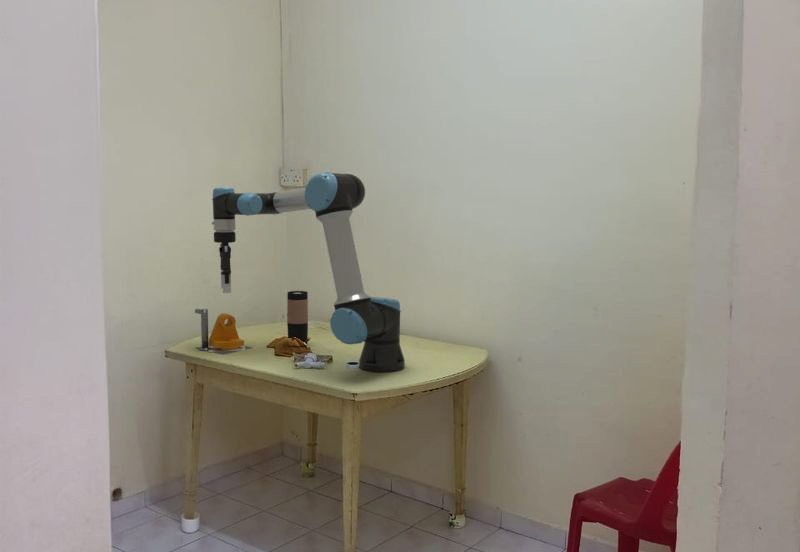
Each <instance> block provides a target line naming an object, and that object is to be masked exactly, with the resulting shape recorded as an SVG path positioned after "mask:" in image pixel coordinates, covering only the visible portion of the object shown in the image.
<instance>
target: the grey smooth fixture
mask: <svg viewBox="0 0 800 552" xmlns="http://www.w3.org/2000/svg"><path fill="white" fill-rule="evenodd" d="M194 313H195V314H198V315H200V325H201V327H200V328H201V346H199V347H200V348H199V349H198V351H201V352H208V350H211V349H212V348H211V347H209V308H202V309H201V308H195V309H194Z"/></svg>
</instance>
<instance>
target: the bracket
mask: <svg viewBox="0 0 800 552" xmlns="http://www.w3.org/2000/svg"><path fill="white" fill-rule="evenodd" d="M235 318H236V317H234V316H233V315H231V314H228V313H224V312H223V313H220V314H219V315H218V316H217V318H216V320H215V323H214V325H213V328H212V331H211V332H210V336H209V337H208V340H209V345H211V346H213V347H215V348H220V349H222V350H229V349H238V347H239V346H245V340H244V339H241V338H240V337H239V333H238V330H237V328H236V319H235ZM226 320H227V321H226ZM225 322H226V323H225Z"/></svg>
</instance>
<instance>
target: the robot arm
mask: <svg viewBox="0 0 800 552" xmlns="http://www.w3.org/2000/svg"><path fill="white" fill-rule="evenodd" d="M365 195H366V187H365V185H364V183H363V181H362V180H361V179H360V178H359V177H358V176H356V175H354V174H351V173H337V172H336V173H335V172H323V173H316V174H314V175H313V176H311V177H310V179H309V180H308V182H307V184H306V185H305V187H303V188H302V187H301V188H295V189H289V190H283V191H276V192H270V193H269V192H267V193H265V192H262V193H259V192H257V193H253V192H244V193H243V192H241V193H240V192H239V193H235V188H234V187H214V188H213V190H212V198H211V199H212V211H213V212H212V215H213V216H212V218H213V221H212V222H211V225H213V230H214V232H213V241H214V243H219V244H220V245H219V246H220V247H219V248H218V252H219V258H220V265H219V266H220V284H221V285H220V286H221V287H220V289H222V293H223V294H231V293H232V279H231V278H232V277H231V275H232V270H231V269H232V268H231V257H232V254H231V253H232V248H231V247H230V245H229V244H230V243H235V242H236V239H237V238H236V232H235V230H236V216H237V215H239V216H256V215H258V216H259V215H280V214H283V213H291V212H296V211H299V212H300V211H305V210H312V211H314V213H315V218H316V220H317V221H319V222H320V223H321V224H322V227H323V233H324V237H325V243H326V247H327V248H326V249H327V254H328V257H329V263H330V266H331V273H332V276H333V282H334V283H333V284H334V286H335V292H336V296H337V297H336V300H335V301H334V303H333V306H334V312H332V314H331V318H330V322H329V323H330V324H329V325H330V329H331V331H332V334H333V336H334V337H335V338H336V339H337V340H339V341H340V342H341V343H342V344H345V345H357V344H358V345H359V344H362V343H363V342H364V345H363V348H362V351H361V354H360V357H359V360H358V367H359V368H360V369H361V370H365V371H367V372H368V371H369V372H375V373H385V372H386V373H387V372H388V373H389V372H397V371H400V370H403V369H404V368H405V365H406V364H405V362H406V361H405V357H404V353H403V351H402V347H401V344H400V343H401V341H400V340H401V339H400V338H401V332H400V331H401V311H402V310H401V308H400V307H401V304H400V303H401V302H400V301H399V300H398V299H395V298H390V297H389V298H388V297H387V298H386V297H375V296H374V297H372V296H370V295H368V294H367V293H365V289H364V284H363V279H362V274H361V271H360V264H359V261H358V260H359V259H358V254H357V251H356V245H355V241H354V236H353V230H352V225H351V221H350V218H351V216H352V214H353V213H354V212H353V211H354V210H353V209H356V208H357V207H359V206H360V205H361V204H362V203H363V202H364V199H365Z"/></svg>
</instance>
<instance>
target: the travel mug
mask: <svg viewBox="0 0 800 552" xmlns="http://www.w3.org/2000/svg"><path fill="white" fill-rule="evenodd" d="M308 292H309V291H304V290H291V291H290V290H289V291H287V294H286V295H287V296H286V297H287V298H286V300H287V305H286V306H287V307H286V308H287V309H286V310H287V314H286V317H287V318H286V319H287V320H286V321H287V322H286V324H287V339H288V338H291V337H296V338H298V339H300V340H301V341H303V342H305V343H306V344H307V345H308V337H309V336H308V335H309V334H308V333H309V313H308V312H309V305H308V303H309V299H308V296H309V295H308Z"/></svg>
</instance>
